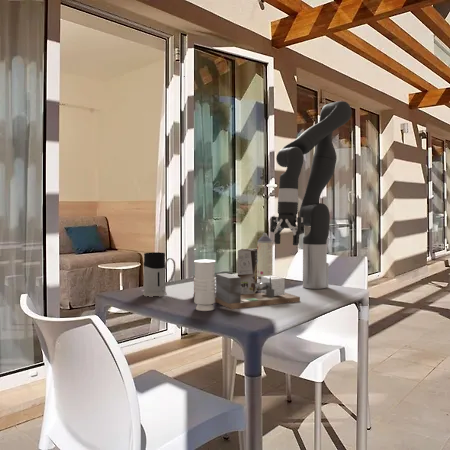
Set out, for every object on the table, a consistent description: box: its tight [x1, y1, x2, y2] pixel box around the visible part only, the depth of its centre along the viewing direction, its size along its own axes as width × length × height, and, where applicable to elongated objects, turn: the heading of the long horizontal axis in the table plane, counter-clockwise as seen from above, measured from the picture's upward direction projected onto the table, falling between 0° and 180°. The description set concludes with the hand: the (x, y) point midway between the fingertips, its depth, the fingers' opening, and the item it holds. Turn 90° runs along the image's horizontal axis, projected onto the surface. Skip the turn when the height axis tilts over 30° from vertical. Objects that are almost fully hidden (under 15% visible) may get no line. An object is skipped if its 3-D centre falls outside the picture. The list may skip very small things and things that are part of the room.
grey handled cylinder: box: [142, 251, 176, 298], centre depth 163 cm, size 9×14×15 cm, turn 55°
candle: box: [193, 259, 216, 312], centre depth 141 cm, size 7×7×15 cm
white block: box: [256, 274, 286, 296], centre depth 153 cm, size 8×7×6 cm
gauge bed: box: [215, 272, 301, 310], centre depth 152 cm, size 26×12×10 cm, turn 116°
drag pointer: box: [266, 277, 274, 297], centre depth 149 cm, size 1×3×6 cm, turn 26°
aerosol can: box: [256, 232, 274, 279], centre depth 204 cm, size 7×7×20 cm
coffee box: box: [237, 248, 258, 295], centre depth 168 cm, size 9×6×16 cm
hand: (286, 244), depth 169 cm, fingers open, 8 cm apart
